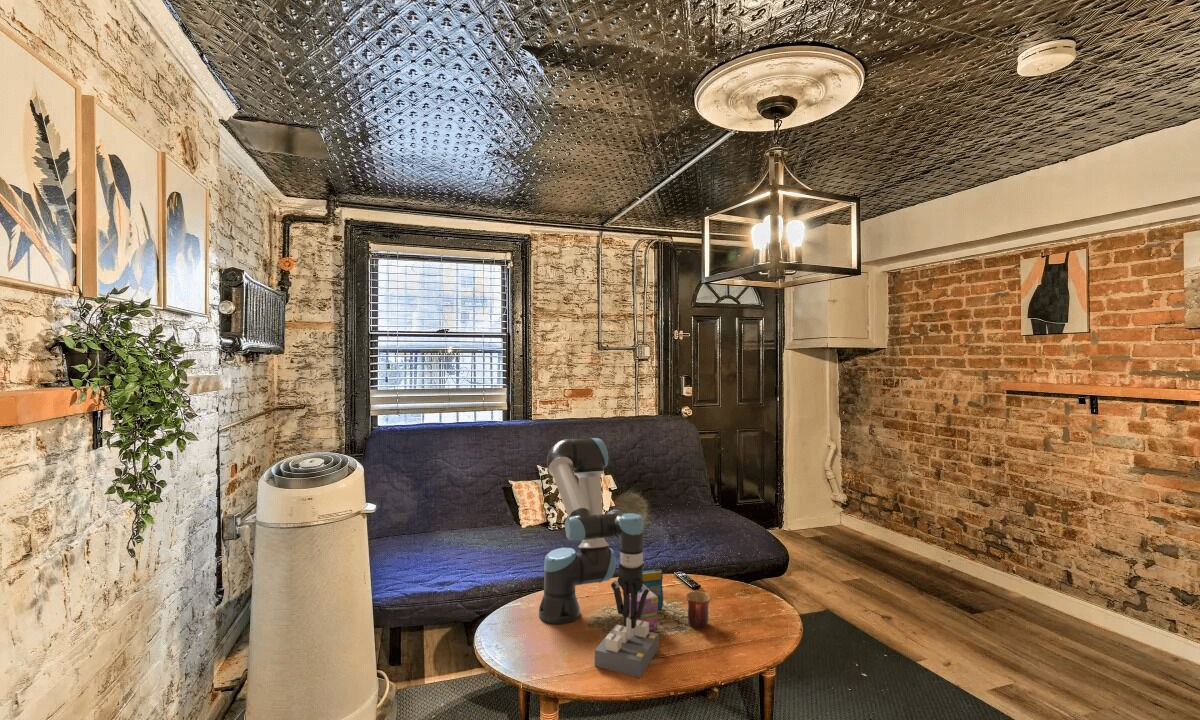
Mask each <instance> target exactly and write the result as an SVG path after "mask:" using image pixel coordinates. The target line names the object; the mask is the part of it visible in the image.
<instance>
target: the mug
mask: <svg viewBox="0 0 1200 720" xmlns="http://www.w3.org/2000/svg"><path fill="white" fill-rule="evenodd" d="M685 596H686V602H687V622H688V625H689V626H690V627H692V628H693V627H694V629H699V630H700V629H701V630H702V629H705V628H706V627H707V626H708V624H709V620H710V619H709V613H710V612H709V608H710V607H709V606H710V602H711V598H712V597H711V596H710V594H708V593H706V592H704V591H697V590H695V591H689V592H688V593H686V595H685Z"/></svg>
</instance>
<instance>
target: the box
mask: <svg viewBox="0 0 1200 720" xmlns="http://www.w3.org/2000/svg"><path fill="white" fill-rule="evenodd" d="M642 594H643V593H642V592H641V593H638V594H637V611H638V607H639V603H640V599H641V596H642ZM657 606H658V596H656V595H655V594H654V593H652V592H651V591H649V593H648V594H647V597H646V601H645V605H644V609H643V613H642V615H641V616H640V618H636V621H637V620H641V621H642V620H643V621H645V622H649V632H651V631H654V630H657V629H658V612H657ZM629 612H630V613H629V615H631V594H630V604H629Z"/></svg>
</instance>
